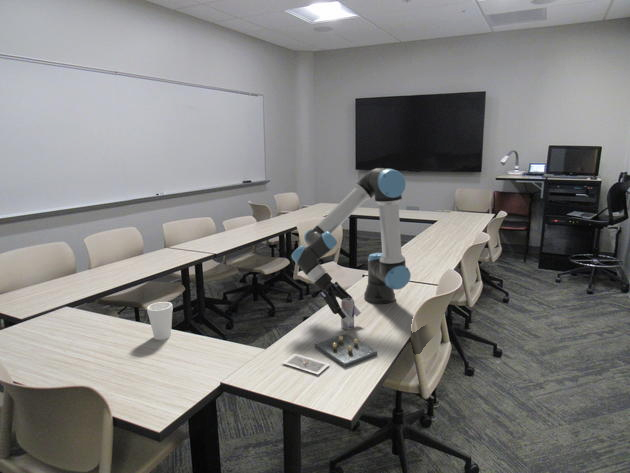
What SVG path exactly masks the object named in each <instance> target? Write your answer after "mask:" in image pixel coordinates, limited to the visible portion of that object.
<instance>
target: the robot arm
mask: <svg viewBox="0 0 630 473" xmlns="http://www.w3.org/2000/svg"><path fill="white" fill-rule="evenodd" d="M406 185H407V184H406V179H405V177H404V175H403V173H401V172H400V171H399V170H396V169H394V168H384V167H376V168H373V169H371V170H369V171H368V172H367V173H366V174H364V176H362V178H360V179H359V180H358V182H356V183H355V184H354V188H353V189H352V190H351V191H350V192H349V193H348V194H347V195H346V196H345V197H344V198H343V199H342V200H340V202H339V203H338V204H337V205H336V206H335V207H334V208H333V209H332V210H331V211H330V212H329V213H328V214H327V215H326V216H324V218H323V219H322V220H321V221H320V222H319V223H318V224H317V225H316V226H315V227H314V228H312V229H311V228H310V229H309V230H307V231H305V233H304V235H303V238H304V241H305V243H306V245H307V246H305V245H300V246H299V247H297V248H296V249H295V250H294V251H293V252H292V253H291V259H292V261H294V262H295V264H296V265H297V266H298V268H299V269H301V271H302V273H304V274H305V276H307V278H308V280H310V281H311V283H313V285H314V286H315V288H316V289H317V290H318V291H319V290H321V291H322V292H321V293H320V297H321V298H322V299H323V300H324V302H325V303H326V305H327V306H328V308H329V309H330V310H331V312H332V313H333V314H334V315H337V314H338V315H339V316H340V318H342V319H343V320H344V321H345V322H346V323H347V325H350V324H351V323H352V322H353V320H352V319H351V318H350V317H349V315H348V314H347V313H346V312H345V311H344V310H343V309H342V310H341V304H340V303H339V301H338V299H337V298H339V299H340V300H341V301H342V299H344V298H351V299H353V297H352V295H351V294H349V293H348V292H347V291H346V290H345V289H344V288H343V287H342V286H341V285H340V284H339V283H338V281H335V282H332V280H333V278H332V276H331V275H330V274H329V273H328V272H326V269H325V268H324V267H323V266H322V265H321V263H320V262H319V261H320V260H321V259H322V258H323V257H324V256H326V255H327V254H328V253H329V252H330V251H332V250H333V249H334V248H335V247H336V246H337V245H338V241H337V240H336V238H335V237H334V235H332V234H333V233H334V232H335V231H337V229H338V228H339V227H340V226H341V225H342V224H343V223H345V221H346V220H348V218H349V217H350V216H351V215H353V213H354V212H356V211H357V210H358V209H359V208H360V206H362V205H363V203H365V202H366V201H367V200H371V199H372V198H373V197H374V201H375V203H377V204H378V210H379V211H378V212H379V213H378V214H379V224H380V225H379V227H380V237H381V238H380V241H381V252H373V253H371V254H369V255H368V259H367V260H368V261H367V284H366V288H365V291H364V294H363V295H364V296H363V298H364V300H365V301H366V302H368V303H372V304H377V305H378V304H381V305H382V304H390V303H393V302H394V301H395V299H396V293H395V291H394V290H401V289H403V288H405V287H406V286H407V285H408V284H409V282H410V281H411V280H410V279H411V276H412V275H411V274H412V273H411V271H410V269H409V268H408V267H407V265H406V262H407V261H406V257H405V256H404V255H402V240H401V238H402V237H401V221H400V205H399V203H400V202H401V200H402V199H403V196H402V194H403V193H404V191H405V189H406ZM336 297H337V298H336ZM361 314H362V312H361V310H360V309H359V308H358V307H357V306H356V305H355V304H354V317H358V316H359V315H361Z"/></svg>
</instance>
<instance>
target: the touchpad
mask: <svg viewBox="0 0 630 473" xmlns="http://www.w3.org/2000/svg"><path fill="white" fill-rule="evenodd" d="M281 363H282V364H284V365H287V366H290V367H293V368H297V369H299V370H303V371H305V372H309V373H312V374H315V375H319V374H321V373H322V372H323V371H325V369H327V368H328V366H330V363H327V362H324V361H321V360H318V359H316V358H311V357H308V356H304V355H301V354H298V353H293V354H291V355H290V356H289V357H287V358H286V359H285V360H283V361H282V362H281Z"/></svg>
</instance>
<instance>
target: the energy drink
mask: <svg viewBox="0 0 630 473" xmlns="http://www.w3.org/2000/svg"><path fill="white" fill-rule="evenodd" d="M354 305H355V300H354V299H353V298H352V299H351V298H344V299H342V300H341V303H340V307H341V310H342V309H343V310H344V311H345V312H346V313H347V314H348V315H349V317H350V318H351V319H352V320H353V322H352V323H351V324H350V325H347V323H346V322H345V321H344V320H343V319H342V318H341V317H340V318H341V319H340V320H341V322H340V323H341V325H340V326H341V328H342V329H343V330H352V329H354V328H355V314H354Z"/></svg>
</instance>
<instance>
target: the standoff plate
mask: <svg viewBox="0 0 630 473" xmlns="http://www.w3.org/2000/svg"><path fill="white" fill-rule="evenodd" d="M314 348H315V349H316V350H318V351H320V353H323V354H324V355H326V356H327V357H328V358H330V359H331V360H332V361H334V362H335V363H337V364H338V365H340V366H341V367H343V368H347V367H349V366H352V365H354V364H358V363H360V362H363V361H366V360H368V359H370V358H373V357H376V356H377V355H378V351H377V350H376V349H375V348H372V347H370V346H369V345H367V344H365V343H363V342H361V341H360V340H359V339H358V338H355V337H353V336H351V335H349V334H348V333H344V334H341V335H338V336H335V337H332V338H329V339H326V340H323V341H320V342H316V343H314Z"/></svg>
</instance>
